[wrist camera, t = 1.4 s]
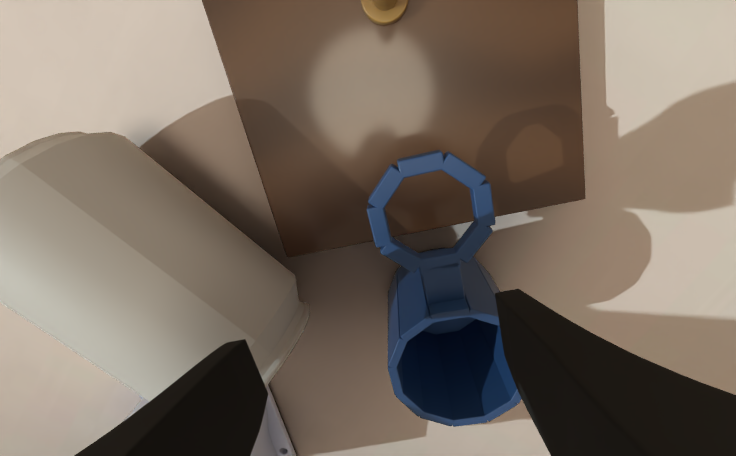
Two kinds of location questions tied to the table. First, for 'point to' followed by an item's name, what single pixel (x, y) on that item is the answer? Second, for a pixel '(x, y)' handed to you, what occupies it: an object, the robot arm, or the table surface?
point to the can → (135, 264)
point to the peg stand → (403, 107)
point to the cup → (444, 309)
